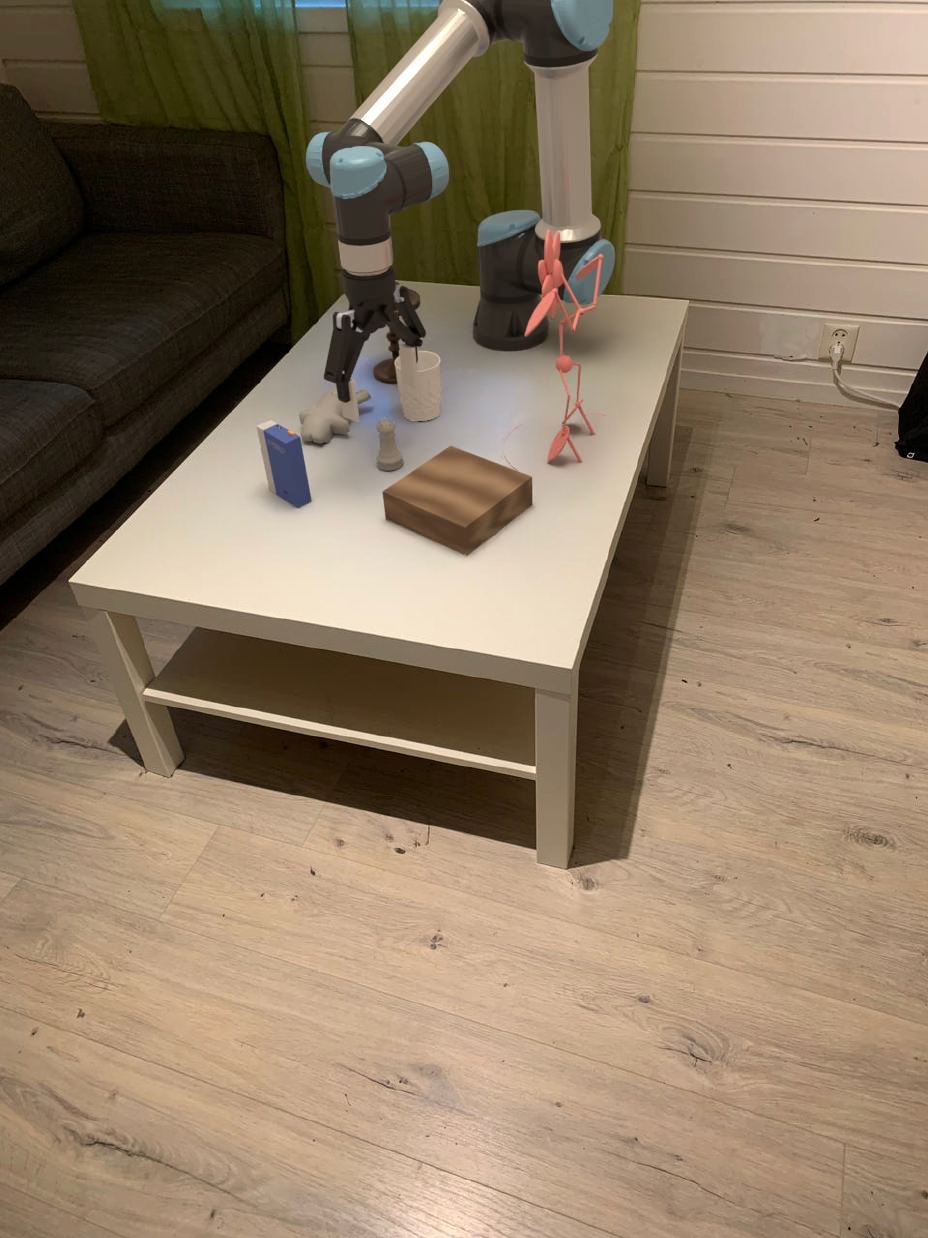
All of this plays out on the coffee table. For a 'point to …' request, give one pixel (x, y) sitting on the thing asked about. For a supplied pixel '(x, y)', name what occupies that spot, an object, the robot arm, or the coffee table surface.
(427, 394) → the white cup
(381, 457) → the rook chess piece
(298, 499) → the walkman
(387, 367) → the candlestick
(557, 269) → the figurine
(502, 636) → the coffee table surface
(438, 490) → the walnut base
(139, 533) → the coffee table surface
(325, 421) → the bunny figurine
